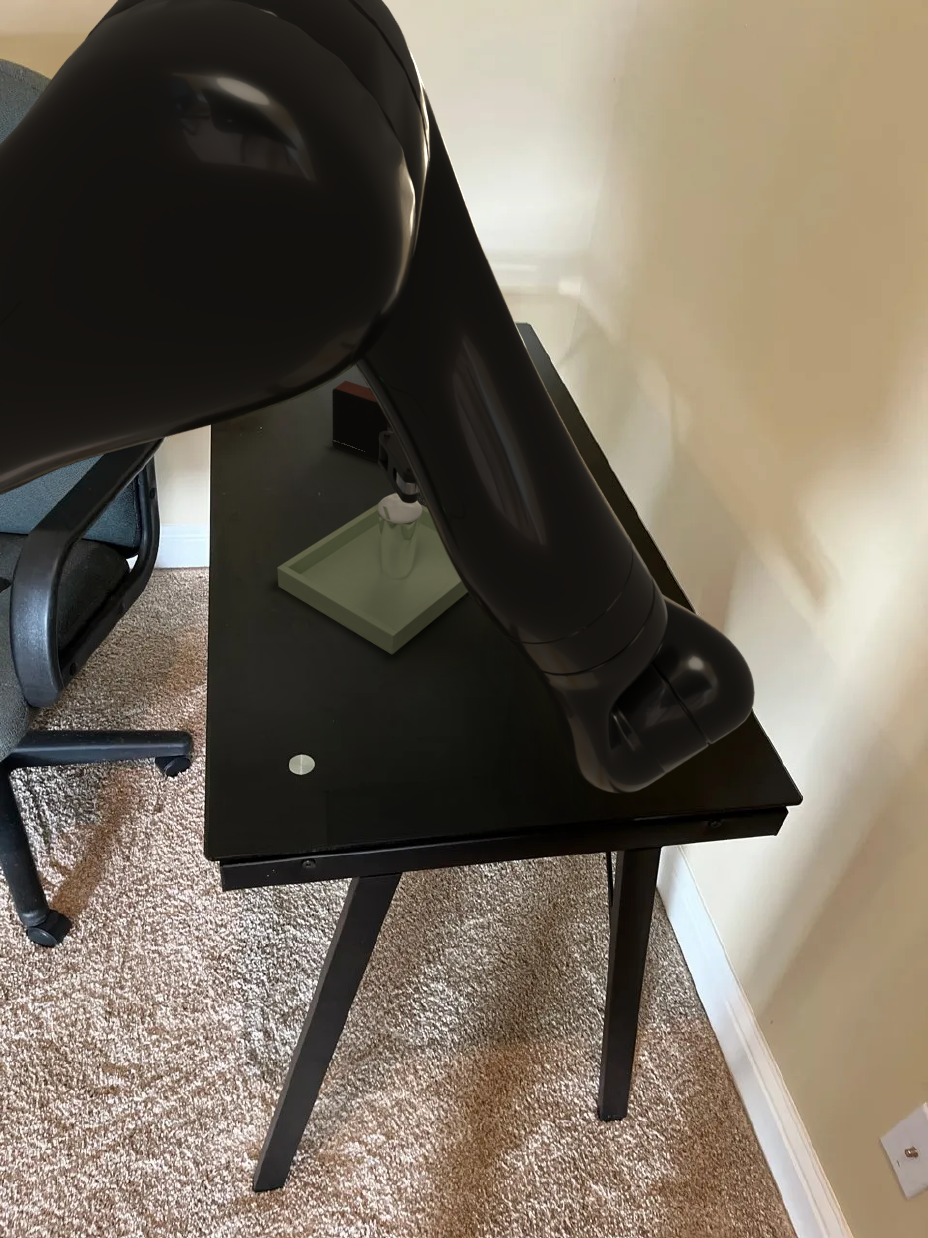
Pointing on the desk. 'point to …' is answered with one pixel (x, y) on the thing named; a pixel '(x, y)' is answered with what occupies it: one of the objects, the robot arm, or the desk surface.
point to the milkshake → (398, 535)
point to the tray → (374, 581)
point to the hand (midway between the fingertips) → (447, 409)
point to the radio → (357, 420)
